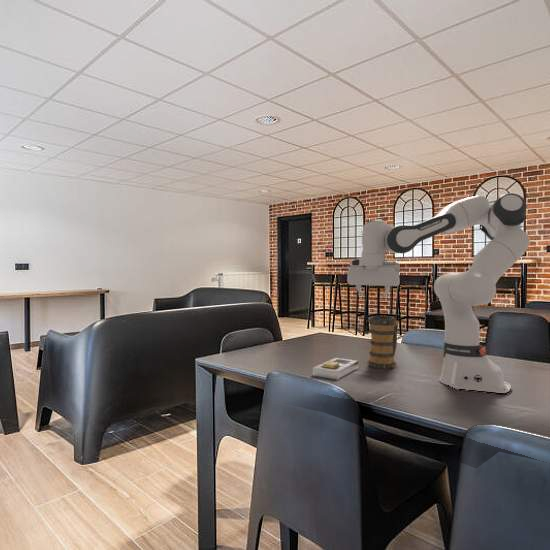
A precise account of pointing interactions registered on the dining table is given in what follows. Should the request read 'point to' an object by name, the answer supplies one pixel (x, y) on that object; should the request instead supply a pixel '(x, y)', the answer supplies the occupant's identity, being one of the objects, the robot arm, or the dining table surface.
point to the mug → (382, 341)
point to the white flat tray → (344, 369)
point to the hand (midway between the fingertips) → (372, 297)
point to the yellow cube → (331, 365)
